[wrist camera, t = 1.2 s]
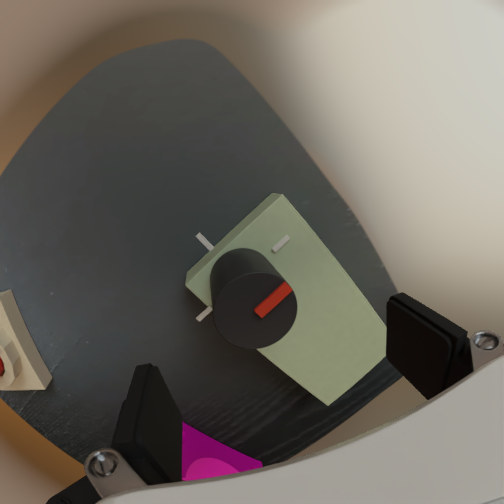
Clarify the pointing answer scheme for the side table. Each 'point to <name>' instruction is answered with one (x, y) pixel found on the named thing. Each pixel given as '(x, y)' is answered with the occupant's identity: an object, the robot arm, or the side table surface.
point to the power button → (1, 366)
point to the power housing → (19, 351)
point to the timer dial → (250, 300)
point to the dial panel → (304, 301)
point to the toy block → (210, 457)
